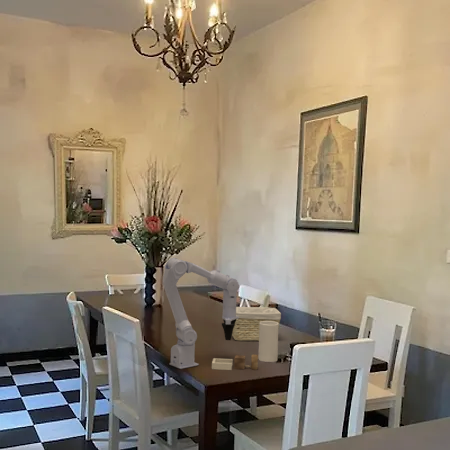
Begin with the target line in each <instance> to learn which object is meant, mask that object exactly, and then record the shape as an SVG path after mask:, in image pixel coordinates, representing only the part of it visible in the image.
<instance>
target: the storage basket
mask: <svg viewBox="0 0 450 450" xmlns="http://www.w3.org/2000/svg"><path fill="white" fill-rule="evenodd" d="M236 316H239V319H236V322H235V326H234V328H233V333H232V336H231V337H232V338H233V339H234V340H235V341H240V342H241V341H249V342H250V341H255V342H256V341H257V342H259V325H260V322H261V321H274V322H278V323H279V324H280V322H281V319H282V313H281V312H280V311H279V310H278V309H277V308H276V307H267V306H266V307H263V306H262V307H261V306H257V307H256V306H255V307H254V306H236ZM279 328H280V325H279V326H278V330H279Z"/></svg>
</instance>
